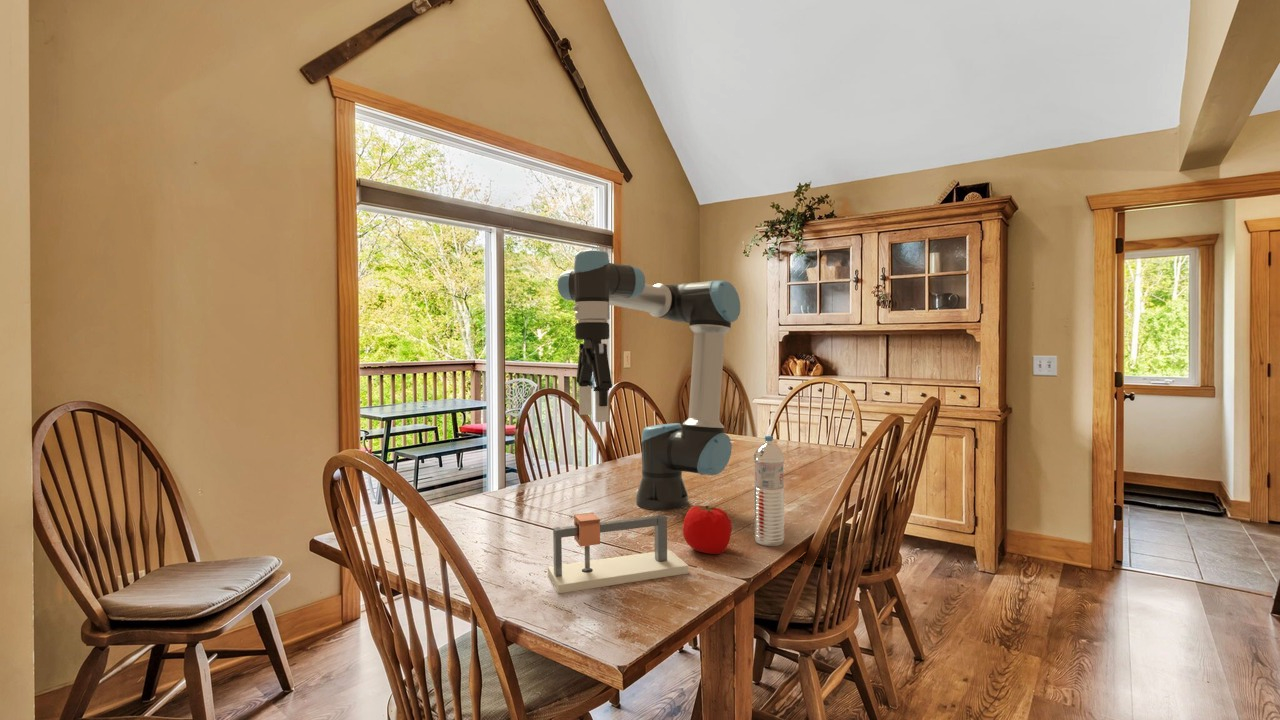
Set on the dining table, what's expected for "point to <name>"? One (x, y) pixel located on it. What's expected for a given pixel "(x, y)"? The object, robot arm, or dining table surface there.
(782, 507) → the water bottle
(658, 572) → the hole board
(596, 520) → the slider sleeve
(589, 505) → the dining table surface
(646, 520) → the grey slider rail frame
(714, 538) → the tomato
